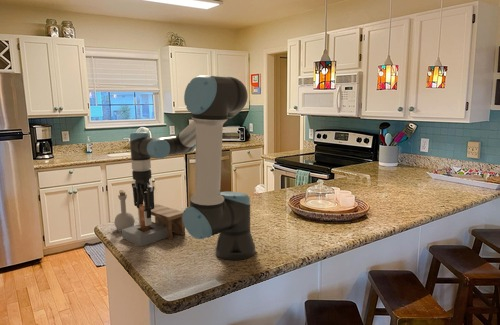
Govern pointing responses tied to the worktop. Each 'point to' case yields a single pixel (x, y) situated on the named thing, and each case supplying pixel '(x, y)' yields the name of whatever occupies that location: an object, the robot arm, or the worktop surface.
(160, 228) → the socket block
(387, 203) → the worktop surface
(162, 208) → the wooden bench
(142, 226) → the peg
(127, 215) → the potion bottle
